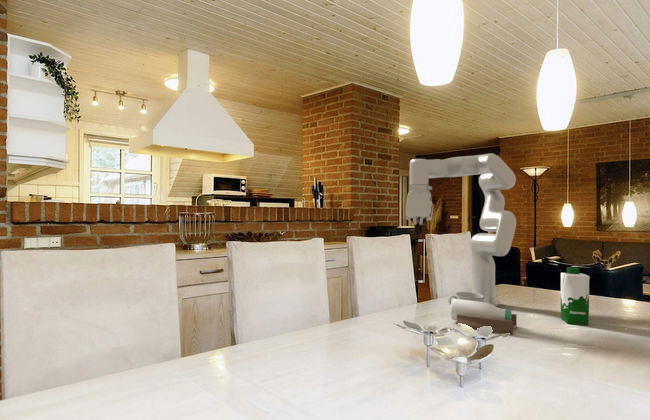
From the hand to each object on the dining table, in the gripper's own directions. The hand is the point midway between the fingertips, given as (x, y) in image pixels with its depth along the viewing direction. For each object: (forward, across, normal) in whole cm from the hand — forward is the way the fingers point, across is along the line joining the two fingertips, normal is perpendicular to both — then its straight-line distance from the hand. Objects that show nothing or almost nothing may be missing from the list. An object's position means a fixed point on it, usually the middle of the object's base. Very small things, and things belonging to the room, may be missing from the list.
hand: (418, 234), depth 173 cm
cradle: (+32, -28, +11) cm, 43 cm away
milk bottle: (+27, -15, +9) cm, 32 cm away
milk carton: (+32, -55, -14) cm, 65 cm away
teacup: (+32, -17, -7) cm, 37 cm away
